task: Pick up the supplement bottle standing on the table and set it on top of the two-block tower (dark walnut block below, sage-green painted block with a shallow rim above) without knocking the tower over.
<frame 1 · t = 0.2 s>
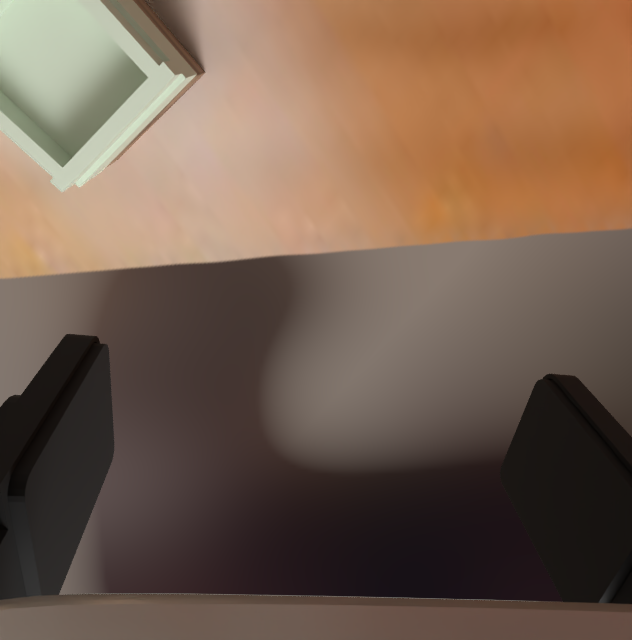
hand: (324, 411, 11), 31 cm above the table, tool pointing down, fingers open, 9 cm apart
block lower: (111, 62, 35), on the table
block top: (90, 64, 31), point 4 cm above the table
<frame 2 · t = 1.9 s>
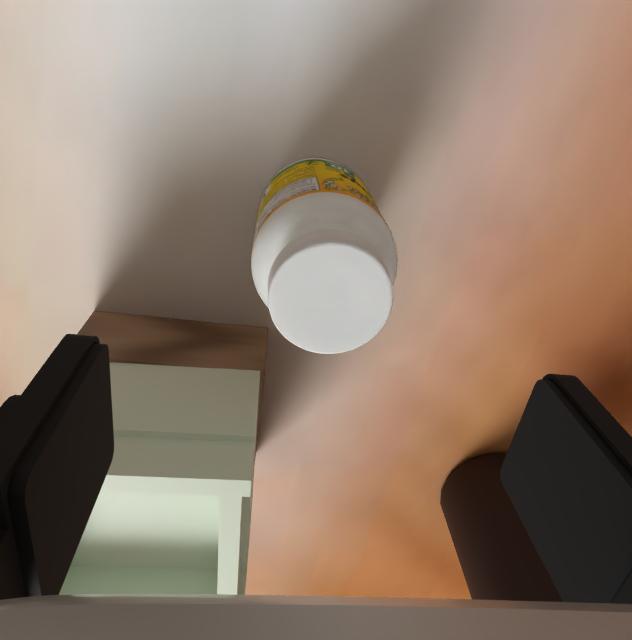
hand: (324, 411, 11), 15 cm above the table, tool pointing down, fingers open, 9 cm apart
block lower: (182, 386, 29), on the table, touching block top
supplement bottle: (315, 212, 25), on the table
vinegar: (488, 486, 34), on the table
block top: (164, 441, 25), point 4 cm above the table, touching block lower
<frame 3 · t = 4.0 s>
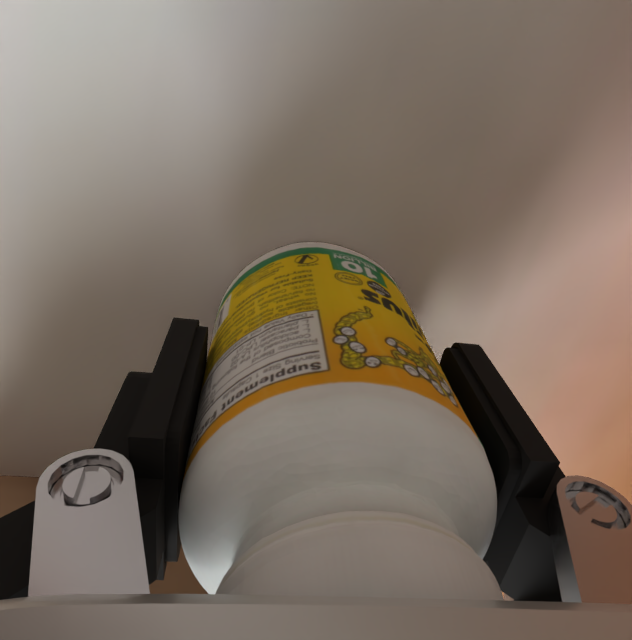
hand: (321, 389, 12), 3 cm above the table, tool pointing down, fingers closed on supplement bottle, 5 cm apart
block lower: (110, 564, 19), on the table, touching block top
supplement bottle: (312, 323, 15), on the table, touching gripper
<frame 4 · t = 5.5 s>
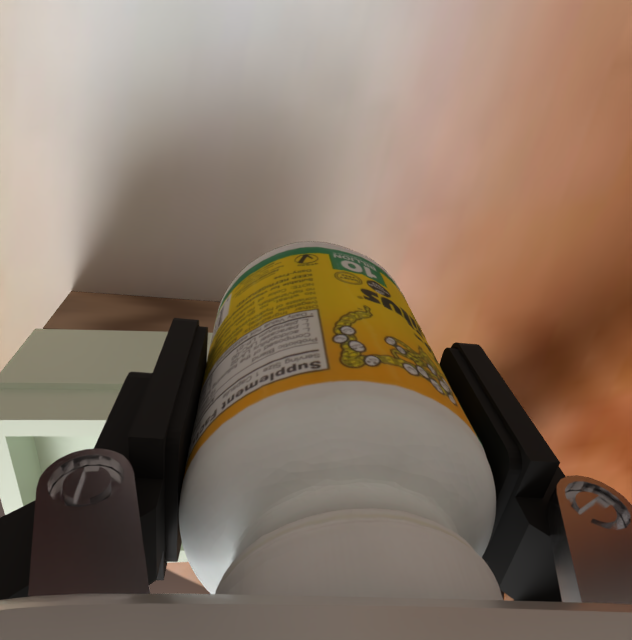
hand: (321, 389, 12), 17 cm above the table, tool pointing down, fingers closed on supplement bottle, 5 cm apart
block lower: (156, 361, 31), on the table, touching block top
supplement bottle: (312, 322, 15), point 14 cm above the table, touching gripper
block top: (139, 404, 27), point 4 cm above the table, touching block lower
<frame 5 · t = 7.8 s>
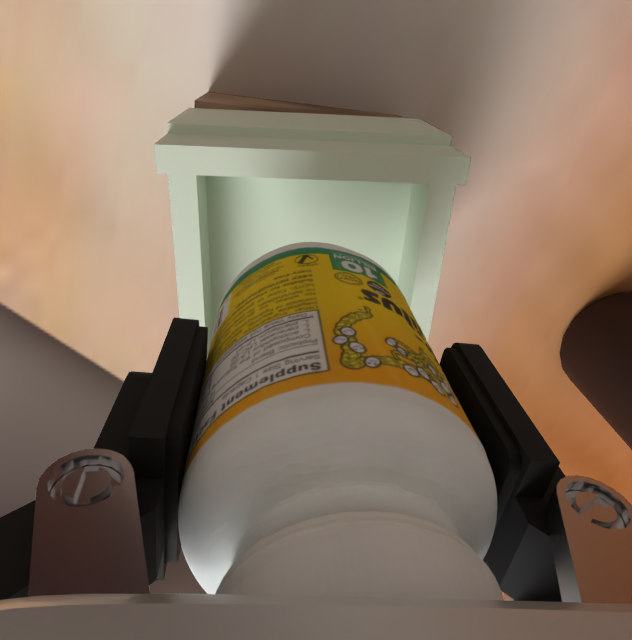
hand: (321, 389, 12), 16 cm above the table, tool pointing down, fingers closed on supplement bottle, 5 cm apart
block lower: (296, 198, 26), on the table, touching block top
supplement bottle: (312, 323, 15), point 13 cm above the table, touching gripper
vinegar: (610, 338, 31), on the table
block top: (301, 224, 22), point 4 cm above the table, touching block lower
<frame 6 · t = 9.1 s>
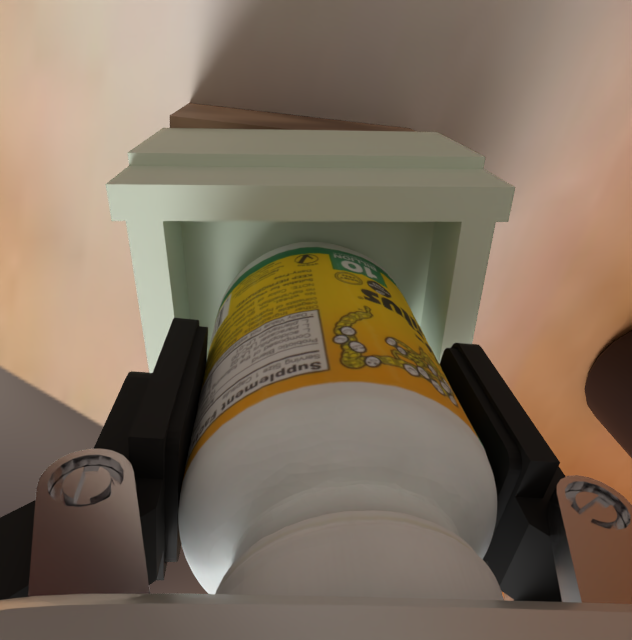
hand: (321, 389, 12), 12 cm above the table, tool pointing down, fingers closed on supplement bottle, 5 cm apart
block lower: (292, 222, 23), on the table, touching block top
supplement bottle: (312, 323, 15), point 9 cm above the table, touching gripper
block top: (301, 258, 19), point 4 cm above the table, touching block lower
when the fingers open (12 cm above the table, at t = 10.0 s): supplement bottle stays where it is, resting on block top.
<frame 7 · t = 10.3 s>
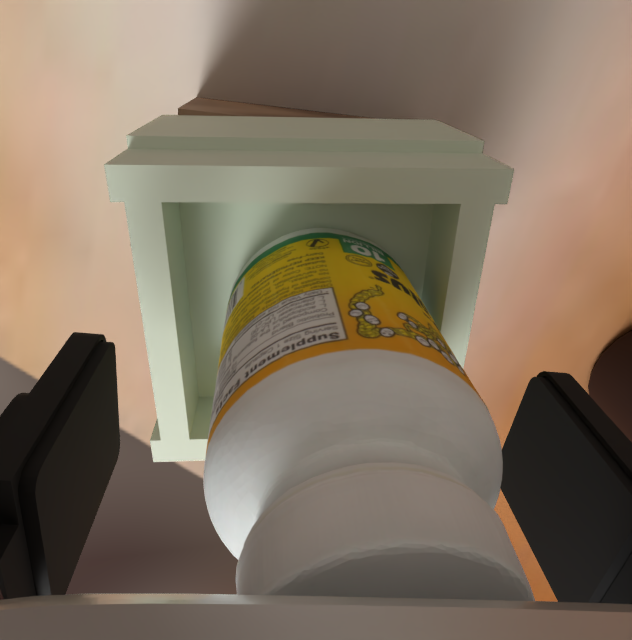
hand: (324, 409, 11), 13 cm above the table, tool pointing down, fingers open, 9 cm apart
block lower: (298, 217, 23), on the table, touching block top
supplement bottle: (319, 307, 15), point 9 cm above the table, touching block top
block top: (300, 247, 19), point 4 cm above the table, touching block lower, supplement bottle
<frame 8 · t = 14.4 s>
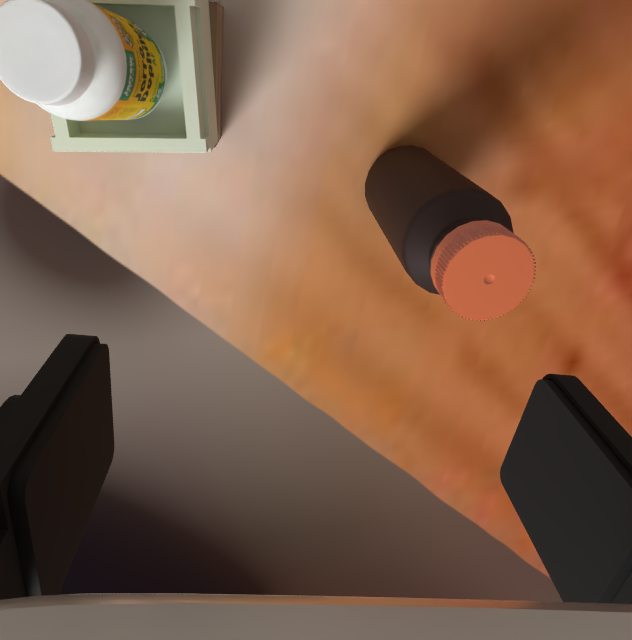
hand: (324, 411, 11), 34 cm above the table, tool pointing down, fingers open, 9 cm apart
block lower: (161, 69, 38), on the table, touching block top
supplement bottle: (126, 72, 30), point 9 cm above the table
vinegar: (402, 185, 44), on the table
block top: (145, 70, 34), point 4 cm above the table, touching block lower
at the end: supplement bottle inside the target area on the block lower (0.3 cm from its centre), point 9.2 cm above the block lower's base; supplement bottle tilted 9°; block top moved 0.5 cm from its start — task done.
